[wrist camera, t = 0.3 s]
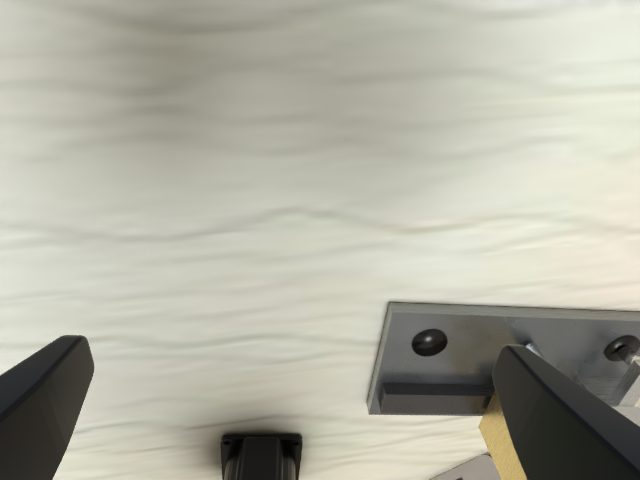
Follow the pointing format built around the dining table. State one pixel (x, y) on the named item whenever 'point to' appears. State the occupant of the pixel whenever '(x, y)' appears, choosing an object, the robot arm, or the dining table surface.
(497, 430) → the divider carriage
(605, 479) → the robot arm
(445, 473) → the charger
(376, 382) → the dividers base
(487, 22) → the dining table surface
